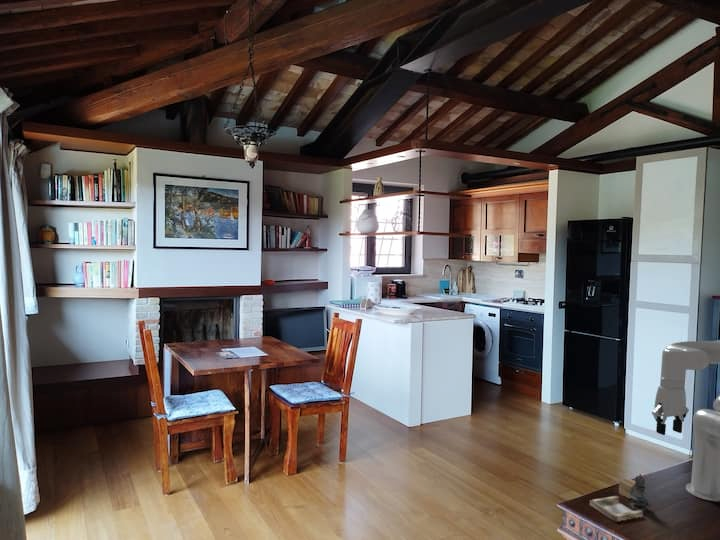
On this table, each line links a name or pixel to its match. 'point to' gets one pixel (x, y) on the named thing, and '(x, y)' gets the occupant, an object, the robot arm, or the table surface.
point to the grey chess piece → (638, 494)
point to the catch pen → (614, 509)
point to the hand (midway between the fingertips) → (668, 432)
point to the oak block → (626, 487)
